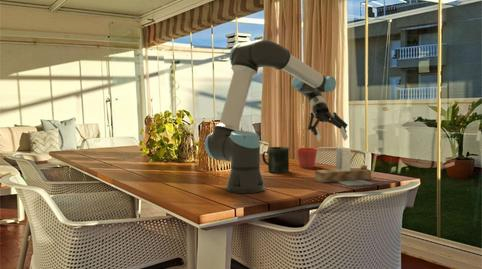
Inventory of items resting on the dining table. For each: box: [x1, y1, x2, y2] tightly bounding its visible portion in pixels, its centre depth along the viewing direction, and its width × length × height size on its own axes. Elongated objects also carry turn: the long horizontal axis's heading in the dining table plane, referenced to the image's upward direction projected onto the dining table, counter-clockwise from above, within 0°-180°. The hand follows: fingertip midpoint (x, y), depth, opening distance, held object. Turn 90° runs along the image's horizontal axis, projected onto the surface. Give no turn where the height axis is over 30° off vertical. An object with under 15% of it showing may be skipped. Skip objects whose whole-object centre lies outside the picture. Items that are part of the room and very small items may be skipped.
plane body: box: [314, 164, 372, 183], centre depth 186 cm, size 24×7×6 cm, turn 104°
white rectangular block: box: [335, 147, 352, 172], centre depth 185 cm, size 4×6×10 cm, turn 14°
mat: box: [337, 179, 374, 187], centre depth 175 cm, size 12×9×1 cm
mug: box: [261, 146, 290, 174], centre depth 209 cm, size 11×15×12 cm
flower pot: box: [296, 147, 318, 168], centre depth 223 cm, size 11×11×10 cm
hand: (333, 139), depth 195 cm, fingers open, 13 cm apart
